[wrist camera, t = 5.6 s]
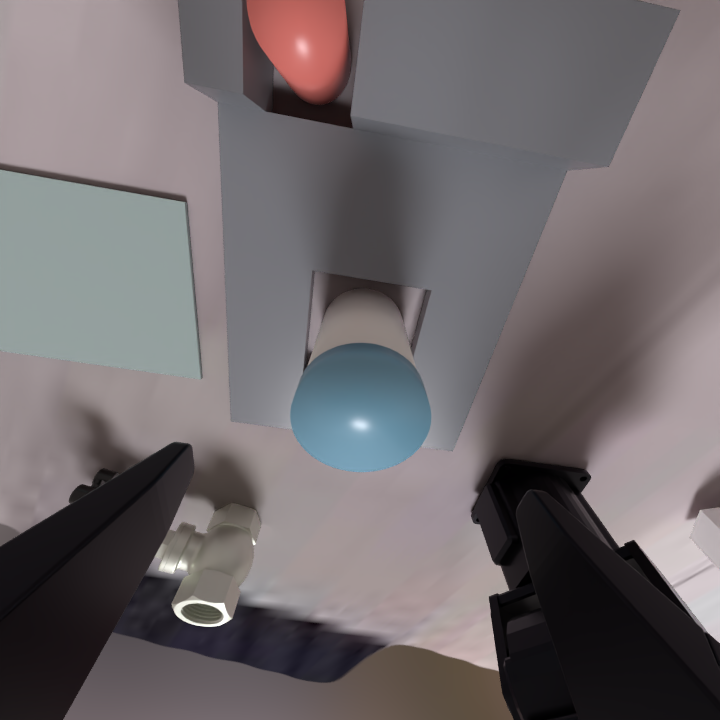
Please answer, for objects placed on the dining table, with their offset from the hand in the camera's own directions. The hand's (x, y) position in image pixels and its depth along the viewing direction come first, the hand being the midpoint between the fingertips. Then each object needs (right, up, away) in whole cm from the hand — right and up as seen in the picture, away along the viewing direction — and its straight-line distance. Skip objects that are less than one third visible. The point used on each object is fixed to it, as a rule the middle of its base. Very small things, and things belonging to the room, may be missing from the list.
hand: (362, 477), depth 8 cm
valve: (-13, -8, +17) cm, 23 cm away
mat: (-15, +7, +8) cm, 18 cm away
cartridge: (0, +5, +9) cm, 10 cm away
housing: (0, +7, +8) cm, 11 cm away
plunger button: (-2, +14, +3) cm, 15 cm away
